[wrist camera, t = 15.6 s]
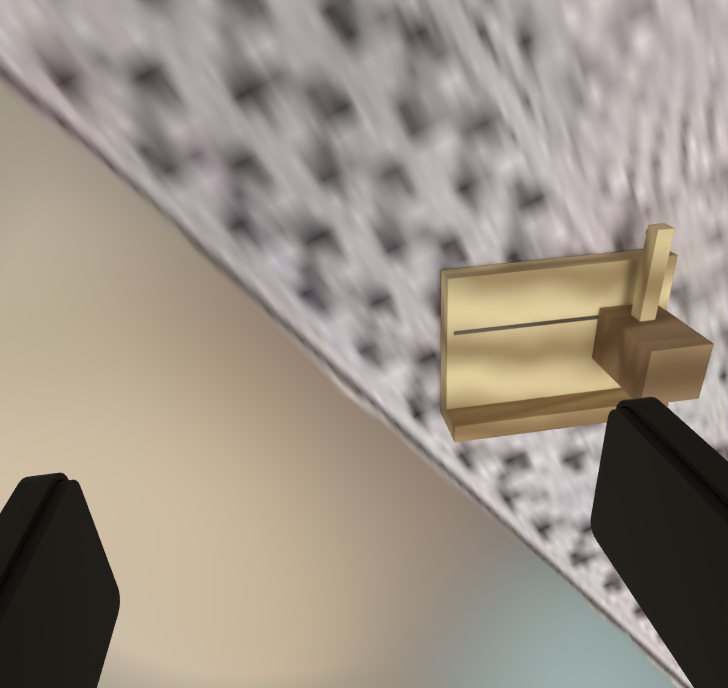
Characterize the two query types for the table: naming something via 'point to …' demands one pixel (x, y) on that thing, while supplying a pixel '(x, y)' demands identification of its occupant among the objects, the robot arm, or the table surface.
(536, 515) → the table surface
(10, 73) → the table surface
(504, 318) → the board
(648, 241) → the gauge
